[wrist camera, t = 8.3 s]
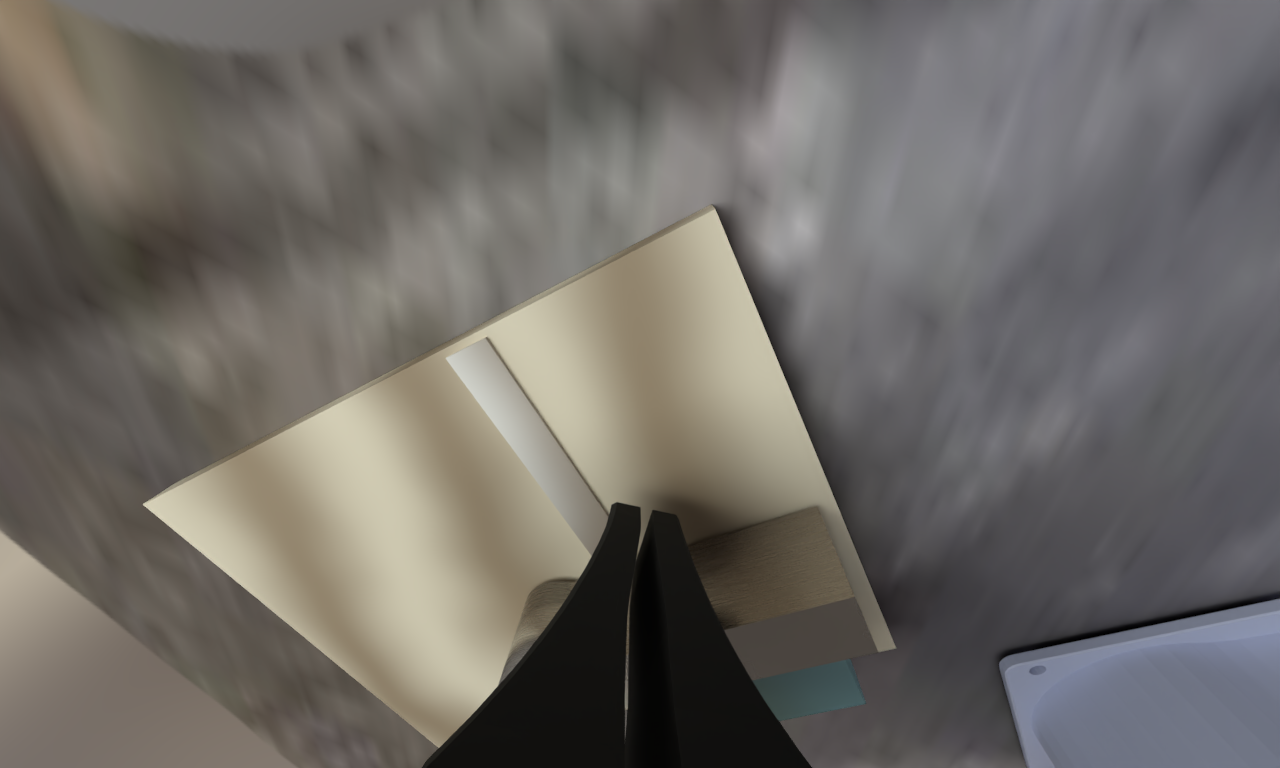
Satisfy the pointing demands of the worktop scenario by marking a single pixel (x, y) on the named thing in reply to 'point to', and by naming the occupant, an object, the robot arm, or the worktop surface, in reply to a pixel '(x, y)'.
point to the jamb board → (522, 477)
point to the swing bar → (754, 599)
